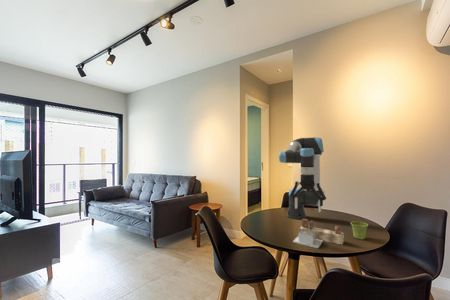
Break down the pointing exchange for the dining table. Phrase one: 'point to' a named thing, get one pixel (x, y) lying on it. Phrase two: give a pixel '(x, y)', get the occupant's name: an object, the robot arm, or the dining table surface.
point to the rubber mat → (315, 245)
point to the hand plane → (325, 233)
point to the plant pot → (359, 229)
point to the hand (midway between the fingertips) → (307, 209)
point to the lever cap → (307, 236)
